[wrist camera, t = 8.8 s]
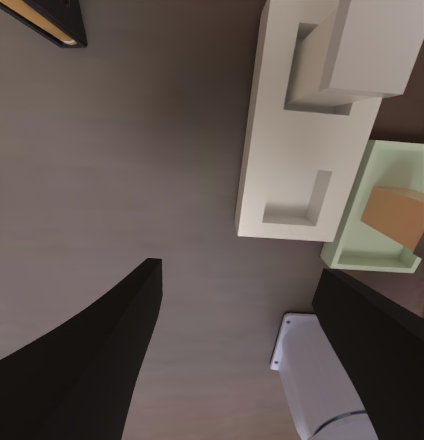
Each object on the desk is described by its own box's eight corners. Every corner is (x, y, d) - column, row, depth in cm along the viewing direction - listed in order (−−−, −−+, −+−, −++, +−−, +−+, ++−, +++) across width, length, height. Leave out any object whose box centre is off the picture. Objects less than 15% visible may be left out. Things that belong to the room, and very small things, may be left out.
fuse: (327, 109, 15) (402, 94, 9) (282, 105, 15) (328, 87, 9) (342, 52, 14) (441, -8, 8) (292, 47, 14) (355, -17, 8)
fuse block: (317, 228, 20) (333, 241, 17) (234, 223, 19) (237, 235, 17) (379, 26, 14) (414, 3, 11) (261, 13, 14) (272, -13, 11)
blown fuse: (394, 224, 19) (478, 265, 13) (358, 221, 19) (426, 261, 13) (411, 187, 18) (512, 215, 12) (372, 184, 17) (455, 210, 12)
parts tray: (395, 261, 21) (413, 273, 19) (319, 256, 21) (330, 268, 19) (452, 147, 17) (482, 149, 15) (357, 139, 17) (375, 140, 15)
